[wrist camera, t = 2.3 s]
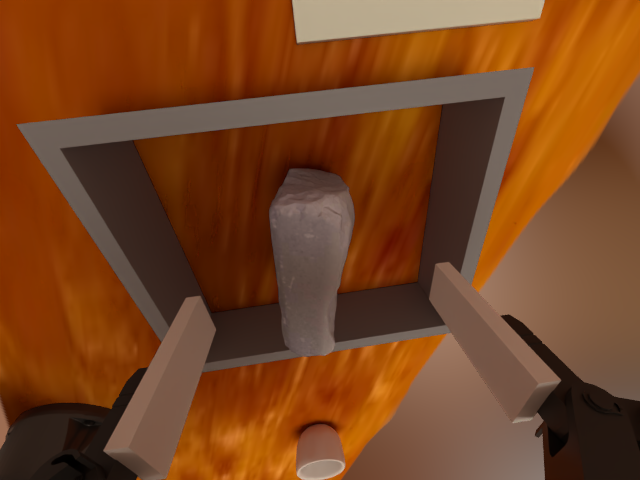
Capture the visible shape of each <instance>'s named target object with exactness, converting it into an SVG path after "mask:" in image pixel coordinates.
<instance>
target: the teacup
mask: <svg viewBox="0 0 640 480" xmlns="http://www.w3.org/2000/svg"><path fill="white" fill-rule="evenodd" d="M344 468H345V459H344V454H343V449H342V445H341V441H340V438H339V436H338V434H337V432H336V431H335V430H334V429H333V428H332V427H330V426H328V425H326V424H315V425H312V426H310V427H308V428H307V429H306V430H305V431H304V432H303V433H302V434H301V436H300V438H299V441H298V445H297V455H296V471H297V476H298V477H299V478H301V479H304V480H322V479H327V478H330V477H333V476H335V475H337V474H339V473H341V472H342V471H343V470H344Z"/></svg>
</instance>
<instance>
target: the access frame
mask: <svg viewBox="0 0 640 480" xmlns="http://www.w3.org/2000/svg"><path fill="white" fill-rule="evenodd" d="M533 70H534V67H532V68H523V69H514V70H504V71H495V72H486V73H477V74H468V75H459V76H450V77H441V78H432V79H423V80H414V81H405V82H396V83H387V84H378V85H369V86H360V87H351V88H342V89H333V90H323V91H314V92H305V93H296V94H287V95H278V96H269V97H260V98H251V99H242V100H233V101H224V102H215V103H206V104H197V105H188V106H179V107H170V108H161V109H152V110H142V111H133V112H124V113H115V114H106V115H97V116H88V117H79V118H70V119H61V120H52V121H43V122H34V123H25V124H16V125H17V126H18V128H19V129H20V131H21V132H22V134H23V135H24V137H25V138H26V140H27V141H28V143H29V144H30V146H31V147H32V149H33V150H34V152H35V153H36V155H37V156H38V158H39V159H40V161H41V162H42V164H43V165H44V167H45V168H46V170H47V171H48V173H49V174H50V176H51V177H52V179H53V180H54V182H55V183H56V185H57V186H58V188H59V189H60V191H61V192H62V194H63V195H64V197H65V198H66V200H67V201H68V203H69V204H70V206H71V207H72V209H73V210H74V212H75V213H76V215H77V216H78V218H79V219H80V221H81V222H82V224H83V225H84V227H85V228H86V230H87V231H88V233H89V234H90V236H91V237H92V239H93V240H94V242H95V243H96V245H97V246H98V248H99V249H100V251H101V252H102V254H103V255H104V257H105V258H106V260H107V261H108V263H109V264H110V266H111V267H112V269H113V270H114V272H115V273H116V275H117V276H118V278H119V279H120V281H121V282H122V284H123V285H124V287H125V288H126V290H127V291H128V293H129V294H130V296H131V297H132V299H133V300H134V302H135V303H136V305H137V306H138V308H139V309H140V311H141V312H142V314H143V315H144V317H145V318H146V320H147V321H148V323H149V324H150V326H151V327H152V329H153V330H154V332H155V333H156V335H157V336H158V338H159V339H160V341H161V342H162V341H163V339H164V338H165V336H166V334H167V332H168V330H169V328H170V326H171V325H172V323H173V321H174V319H175V317H176V315H177V313H178V312H179V310H180V308H181V306H182V304H183V302H184V301H185V299H186V298H188V297H195V296H201V298H202V301H203V303H204V305H205V307H206V309H207V311H208V313H209V315H210V317H211V320H212V322H213V324H214V326H215V328H216V332H215V335H214V337H213V340H212V343H211V346H210V349H209V352H208V355H207V358H206V361H205V364H204V367H203V370H202V372H209V371H215V370H221V369H227V368H234V367H240V366H246V365H252V364H259V363H265V362H271V361H277V360H284V359H290V358H296V357H302V356H299V355H297V354H296V353H293V352H291V351H290V349H289V348H288V347H287V346H285V342H284V337H283V334H282V324H281V320H282V314H281V308H280V305H279V303H276V304H269V305H263V306H256V307H249V308H243V309H236V310H229V311H223V312H216V313H211V311H210V309H209V306H208V304H207V302H206V300H205V298H204V296H203V293H202V291H201V289H200V287H199V285H198V282H197V280H196V278H195V276H194V274H193V272H192V269H191V267H190V265H189V263H188V261H187V258H186V256H185V254H184V252H183V250H182V248H181V245H180V243H179V241H178V239H177V237H176V235H175V232H174V230H173V228H172V226H171V224H170V221H169V219H168V217H167V215H166V213H165V211H164V208H163V206H162V204H161V202H160V200H159V198H158V195H157V193H156V191H155V189H154V187H153V184H152V182H151V180H150V178H149V176H148V174H147V171H146V169H145V167H144V165H143V163H142V160H141V158H140V156H139V154H138V152H137V150H136V147H135V145H134V143H133V141H132V140H136V139H145V138H154V137H162V136H171V135H180V134H188V133H197V132H206V131H214V130H223V129H232V128H240V127H249V126H258V125H266V124H275V123H283V122H292V121H301V120H309V119H318V118H327V117H335V116H344V115H353V114H361V113H370V112H379V111H387V110H396V109H405V108H413V107H422V106H431V105H439V104H443V106H442V113H441V121H440V128H439V135H438V142H437V149H436V156H435V163H434V170H433V177H432V184H431V191H430V198H429V205H428V212H427V219H426V226H425V233H424V241H423V248H422V255H421V262H420V269H419V276H418V282H417V283H410V284H403V285H397V286H390V287H383V288H377V289H370V290H363V291H357V292H350V293H343V294H337V306H336V311H335V320H334V325H335V327H334V338H335V346H334V349H333V351H332V352H334V351H340V350H346V349H352V348H359V347H365V346H371V345H377V344H384V343H390V342H396V341H402V340H409V339H415V338H421V337H427V336H434V335H440V334H446V333H451V332H450V330H449V329H448V327H447V326H446V324H445V323H444V321H443V320H442V318H441V317H440V315H439V314H438V312H437V311H436V309H435V308H434V306H433V305H432V303H431V302H430V300H429V296H430V291H431V286H432V280H433V275H434V269H435V264H437V263H445V262H449V263H450V264H451V265H452V266H453V267H454V268H455V269H456V270H457V271H458V272H459V273H460V274H461V275H462V276H463V277H464V278H465V279H466V280H467V282H468V283H469V284H470V285H471V284H472V281H473V277H474V274H475V270H476V267H477V263H478V260H479V256H480V253H481V250H482V246H483V243H484V239H485V236H486V232H487V229H488V225H489V222H490V219H491V215H492V212H493V208H494V205H495V201H496V198H497V194H498V191H499V188H500V184H501V181H502V177H503V174H504V170H505V167H506V163H507V160H508V156H509V153H510V150H511V146H512V143H513V139H514V136H515V132H516V129H517V125H518V122H519V119H520V115H521V112H522V108H523V105H524V101H525V98H526V94H527V91H528V88H529V84H530V81H531V77H532V74H533Z"/></svg>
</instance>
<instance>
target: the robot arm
mask: <svg viewBox="0 0 640 480" xmlns="http://www.w3.org/2000/svg"><path fill="white" fill-rule="evenodd" d="M429 300H430V302H431V303H432V305H433V306H434V308H435V309H436V311H437V312H438V314H439V315H440V317H441V318H442V320H443V321H444V323H445V324H446V326H447V327H448V329H449V330H450V332H451V333H452V334H453V335H454V337H455V339H456V340H457V342H458V343H459V345H460V346H461V348H462V349H463V351H464V352H465V354H466V355H467V357H468V358H469V360H470V361H471V363H472V364H473V366H474V367H475V369H476V370H477V372H478V373H479V375H480V376H481V378H482V379H483V381H484V382H485V384H486V385H487V386H488V388H489V389H490V391H491V392H492V394H493V395H494V397H495V398H496V400H497V401H498V403H499V404H500V406H501V407H502V409H503V410H504V412H505V413H506V415H507V416H508V418H509V419H510V420H511V422H512V423H516V422H523V421H529V420H532V419H533V417H534V416H535V414H536V413H537V412H538V413H539V415H540V416H541V418H542V419H543V420H544V421H543V423H542V424H541V425H540V426H539V428H538V429H537V430H536V433H535V436H536V437H540V435H541V434H542V433H543V449H544V467H545V480H640V401H635V400H629V399H624V398H618V397H614V396H612V395H611V394H609V393H608V392H606V391H605V390H603V389H601V388H599V387H597V386H595V385H592V384H588V383H584V382H583V381H582V380H581V379H580V378H579V377H577V376H576V375H575V374H574V373H573V372H572V371H571V370H570V369H569V368H568V367H567V366H566V365H565V364H564V363H563V362H562V361H561V360H560V359H559V358H558V357H557V356H556V355H555V354H554V353H553V352H552V351H551V350H550V349H549V348H548V347H547V346H546V345H545V344H542V341H541V340H540V339H538V338H537V337H536V336H535V335H533V333H532V332H531V331H530V330H529V329H528V328H527V327H526V326H525V325H524V324H523V323H522V322H520V321H519V320H517V319H516V318H514V317H512V316H511V315H502V316H500V315H499V314H498V313H497V312H496V311H495V310H494V309H493V308H492V307H491V306H490V305H489V304H488V303H487V302H486V301H485V299H484V298H483V297H482V296H481V295H480V294H479V293H478V292H477V291H476V290H475V289H474V288H473V287H472V286H471V285H470V284H469V283H468V282H467V280H466V279H465V278H464V277H463V276H462V275H461V274H460V273H459V272H458V271H457V270H456V269H455V268H454V267H453V266H452V265H451V264H450V263H449V262H445V263H437V264H435V269H434V275H433V280H432V286H431V291H430V296H429ZM215 332H216V328H215V326H214V324H213V322H212V320H211V317H210V315H209V313H208V311H207V309H206V307H205V305H204V303H203V301H202V298H201V296H195V297H188V298H186V299H185V301H184V302H183V304H182V306H181V308H180V310H179V312H178V313H177V315H176V317H175V319H174V321H173V323H172V325H171V326H170V328H169V330H168V332H167V334H166V336H165V338H164V339H163V341H162V343H161V345H160V347H159V349H158V350H157V352H156V354H155V356H154V358H153V360H152V362H151V363H150V365H149V367H147V368H140V369H138V370H137V371H136V372H135V373H134V374H133V375H132V376H131V378H130V379H129V380H128V381H127V382H126V384H125V386H124V387H123V389H122V391H121V392H120V394H119V397H118V398H117V399H116V401H115V402H114V404H113V406H112V409H109V408H105V407H101V406H96V405H89V404H80V403H56V404H48V405H43V406H38V407H35V408H32V409H30V410H27V411H26V412H24V413H22V414H21V415H20V416H19V417H18V418H17V419H16V421H15V422H14V423H13V424H12V425H11V427H10V428H9V430H8V432H7V435H6V441H5V442H4V444H3V446H2V448H1V449H0V480H136V478H137V476H138V477H139V478H140V479H142V480H159V479H166V478H167V475H168V472H169V469H170V466H171V463H172V460H173V457H174V454H175V451H176V448H177V445H178V442H179V439H180V436H181V433H182V430H183V427H184V424H185V421H186V418H187V415H188V412H189V409H190V406H191V403H192V400H193V397H194V394H195V391H196V388H197V385H198V382H199V379H200V376H201V373H202V370H203V367H204V364H205V361H206V358H207V355H208V352H209V349H210V346H211V343H212V340H213V337H214V335H215Z"/></svg>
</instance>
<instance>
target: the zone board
mask: <svg viewBox="0 0 640 480" xmlns="http://www.w3.org/2000/svg"><path fill="white" fill-rule="evenodd" d="M544 1H545V0H292V6H293V15H294V24H295V33H296V41H297V44H307V43H317V42H327V41H337V40H347V39H356V38H366V37H376V36H386V35H396V34H406V33H416V32H426V31H435V30H445V29H455V28H465V27H475V26H485V25H495V24H504V23H514V22H524V21H533V20H536V19H539V18H540V16H541V12H542V9H543V5H544Z"/></svg>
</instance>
